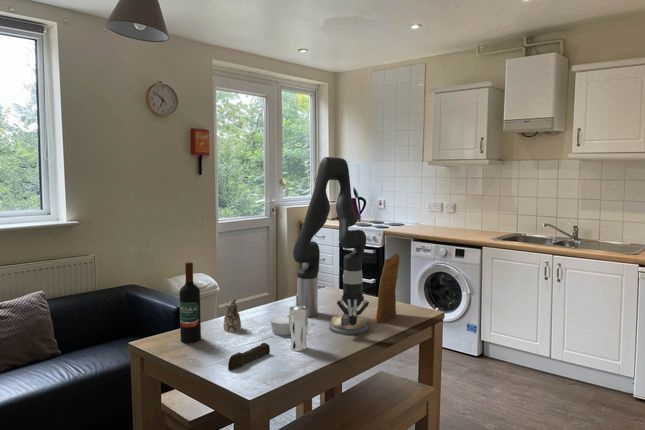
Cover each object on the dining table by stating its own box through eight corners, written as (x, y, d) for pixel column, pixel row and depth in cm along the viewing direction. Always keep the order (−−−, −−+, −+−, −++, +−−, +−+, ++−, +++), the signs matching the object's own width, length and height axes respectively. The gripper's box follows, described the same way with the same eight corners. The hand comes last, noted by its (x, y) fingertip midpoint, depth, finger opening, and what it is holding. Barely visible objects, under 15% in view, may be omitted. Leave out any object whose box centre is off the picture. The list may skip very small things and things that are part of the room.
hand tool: (262, 352, 174) (262, 339, 174) (270, 354, 172) (270, 341, 171) (222, 369, 159) (222, 356, 158) (231, 372, 157) (230, 358, 156)
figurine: (219, 330, 197) (219, 301, 196) (230, 325, 204) (230, 297, 202) (233, 333, 194) (233, 303, 193) (244, 327, 200) (244, 299, 199)
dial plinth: (326, 333, 193) (326, 329, 193) (332, 321, 209) (332, 317, 209) (365, 335, 190) (365, 331, 190) (369, 323, 206) (369, 319, 206)
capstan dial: (326, 332, 189) (326, 317, 188) (337, 314, 213) (337, 300, 213) (361, 335, 186) (361, 319, 185) (368, 316, 210) (368, 302, 210)
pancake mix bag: (403, 314, 219) (404, 253, 217) (384, 325, 204) (385, 260, 201) (390, 312, 223) (390, 252, 221) (370, 322, 207) (371, 258, 205)
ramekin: (303, 331, 196) (303, 319, 195) (283, 338, 188) (283, 325, 187) (285, 325, 204) (285, 313, 203) (264, 332, 195) (264, 319, 195)
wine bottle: (204, 337, 188) (203, 261, 186) (193, 344, 181) (191, 265, 179) (188, 335, 191) (186, 260, 188) (176, 341, 184) (174, 264, 181)
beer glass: (305, 352, 173) (305, 311, 172) (286, 351, 174) (286, 310, 173) (309, 345, 180) (309, 306, 179) (291, 344, 181) (291, 305, 180)
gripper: (370, 279, 190) (370, 322, 191) (337, 278, 192) (337, 321, 193) (369, 284, 182) (369, 328, 184) (334, 282, 185) (334, 326, 186)
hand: (352, 324), depth 189 cm, fingers closed
